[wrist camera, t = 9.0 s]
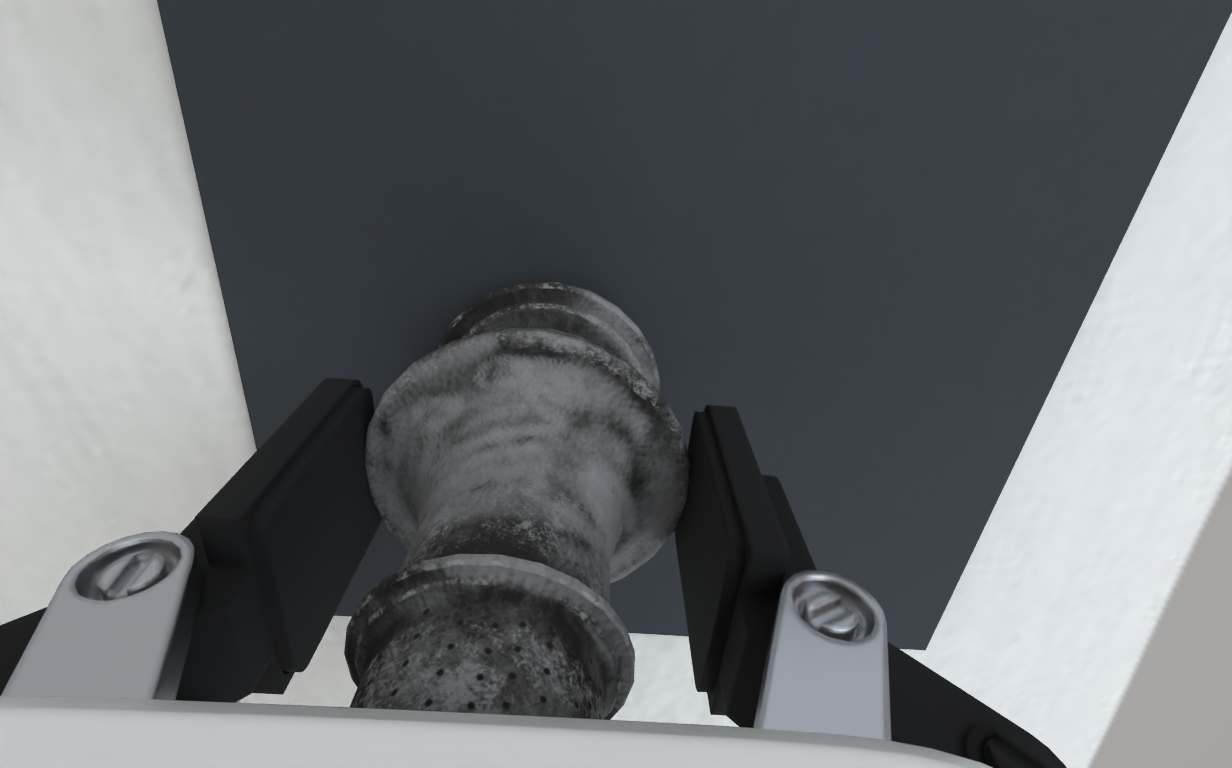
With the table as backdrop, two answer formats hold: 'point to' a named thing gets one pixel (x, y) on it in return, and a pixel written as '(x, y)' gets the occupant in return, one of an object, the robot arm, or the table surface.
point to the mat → (701, 221)
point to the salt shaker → (517, 510)
